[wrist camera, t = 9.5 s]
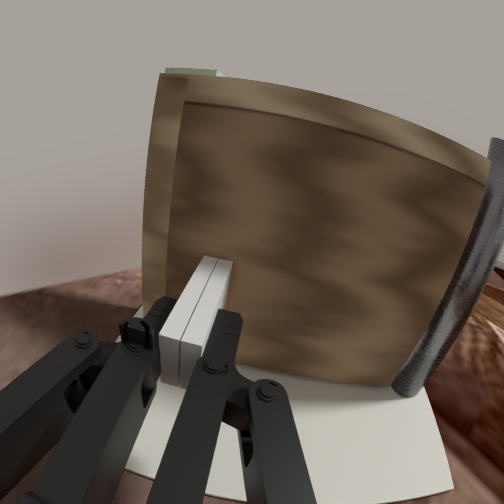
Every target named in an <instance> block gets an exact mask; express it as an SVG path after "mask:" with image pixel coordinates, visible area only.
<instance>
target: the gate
mask: <svg viewBox="0 0 504 504" xmlns="http://www.w3.org/2000/svg"><path fill="white" fill-rule="evenodd" d="M490 165H491V160H489V159H487V158H485V157H484V156H482V155H480V154H478V153H476V152H474V151H473V150H470V149H469V148H467V147H465V146H463V145H461V144H459V143H457V142H455V141H453V140H451V139H448V138H446V137H444V136H442V135H440V134H438V133H435V132H433V131H431V130H429V129H426V128H424V127H421V126H419V125H417V124H414V123H412V122H409V121H406V120H404V119H401V118H399V117H396V116H393V115H391V114H388V113H385V112H382V111H379V110H376V109H373V108H370V107H367V106H364V105H361V104H357V103H354V102H351V101H347V100H343V99H340V98H336V97H332V96H329V95H325V94H320V93H317V92H312V91H308V90H303V89H299V88H293V87H288V86H283V85H278V84H272V83H267V82H260V81H253V80H246V79H239V78H230V77H221V76H209V75H195V74H171V73H160V75H159V80H158V86H157V92H156V97H155V104H154V110H153V117H152V124H151V131H150V139H149V148H148V157H147V167H146V179H145V191H144V209H143V232H142V300H143V319H144V317H145V316H146V314H147V313H148V311H149V310H150V309H151V307H152V305H153V304H154V302H155V301H156V300H158V299H159V298H161V297H163V296H167V297H170V298H174V299H179V298H180V296H181V294H182V292H183V291H184V289H185V287H186V286H187V284H188V282H189V280H190V279H191V277H192V275H193V274H194V272H195V270H196V269H197V267H198V265H199V263H200V262H201V260H202V258H203V257H204V255H205V256H209V257H214V258H218V260H219V259H223V260H228V261H232V262H233V265H232V271H231V276H230V282H229V288H228V294H227V300H226V305H225V308H224V310H228V311H232V312H237V313H240V314H241V317H242V319H243V325H242V330H241V334H240V339H239V344H238V348H237V353H236V358H235V363H239V364H243V365H247V366H252V367H256V368H261V369H266V370H271V371H276V372H281V373H287V374H292V375H298V376H304V377H310V378H316V379H323V380H330V381H337V382H345V383H353V384H363V385H373V386H384V387H389V386H390V384H391V383H392V382H393V380H394V379H395V377H396V376H397V374H398V373H399V372H400V370H401V369H402V367H403V366H404V364H405V362H406V361H407V359H408V358H409V356H410V355H411V353H412V352H413V350H414V348H415V347H416V345H417V343H418V342H419V340H420V338H421V337H422V335H423V333H424V331H425V330H426V328H427V326H428V324H429V323H430V321H431V319H432V317H433V315H434V313H435V312H436V310H437V308H438V306H439V304H440V302H441V300H442V298H443V296H444V294H445V292H446V290H447V288H448V286H449V283H450V281H451V279H452V277H453V275H454V272H455V270H456V268H457V266H458V263H459V261H460V258H461V256H462V254H463V251H464V249H465V246H466V243H467V241H468V238H469V236H470V233H471V230H472V227H473V224H474V221H475V218H476V215H477V212H478V209H479V206H480V203H481V200H482V196H483V193H484V189H485V185H486V182H487V178H488V174H489V170H490Z"/></svg>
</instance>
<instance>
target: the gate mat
mask: <svg viewBox="0 0 504 504" xmlns="http://www.w3.org/2000/svg"><path fill="white" fill-rule="evenodd" d="M134 317H138V318H143V305H142V306H141V307H140V309H139V310H138V311H137V313H136V314H135V315H134ZM120 341H121V336H119V337H118V338H117V340H116V341H115V342H120ZM235 366H236V369H237V370H238V372H239V373H240V374H241V375H242V376H244V377H246V378H247V379H249V380H251V381H254V382H255V381H257V380H260V379H271V380H274V381H276V382H279V383H280V384H281V385H282V386H283V387H284V388H285V390H286V392H287V395H288V398H289V402H290V406H291V409H292V413H293V417H294V421H295V424H296V428H297V432H298V435H299V439H300V443H301V446H302V450H303V454H304V457H305V461H306V465H307V468H308V472H309V476H310V479H311V483H312V487H313V490H314V494H315V498H316V501H317V504H387V503H394V502H401V501H406V500H412V499H417V498H422V497H426V496H431V495H435V494H439V493H443V492H447V491H450V490H452V489H454V486H453V482H452V477H451V473H450V469H449V465H448V461H447V457H446V454H445V450H444V447H443V443H442V440H441V436H440V433H439V430H438V427H437V423H436V420H435V417H434V414H433V411H432V408H431V405H430V402H429V399H428V397H427V394H426V391H425V388H424V386H423V388H422V389H421V390H420V391H419V393H418V394H417V395H416V396H415V397H412V398H405V397H402V396H400V395H399V394H397V393H396V392H395V391H394V390H393V389H392V387H391V384H390V386H389V387H384V386H373V385H363V384H353V383H345V382H337V381H330V380H323V379H316V378H310V377H304V376H298V375H292V374H287V373H281V372H276V371H271V370H266V369H261V368H256V367H252V366H247V365H243V364H239V363H235ZM185 392H186V389H183V388H180V384H179V387H176V386H172V385H169V384H166V383H162V382H161V380H160V376H159V378H158V381H157V390H156V394H155V396H154V399H153V401H152V403H151V406H150V408H149V410H148V413H147V415H146V417H145V420H144V422H143V425H142V427H141V429H140V432H139V434H138V437H137V439H136V442H135V444H134V446H133V449H132V451H131V454H130V456H129V459H128V461H127V464H126V466H125V469H127V470H129V471H132V472H134V473H137V474H139V475H142V476H145V477H147V478H150V479H153V480H154V479H155V476H156V473H157V470H158V467H159V465H160V462H161V459H162V456H163V453H164V450H165V447H166V445H167V442H168V439H169V436H170V433H171V431H172V428H173V425H174V422H175V419H176V417H177V414H178V411H179V408H180V405H181V403H182V400H183V397H184V394H185ZM205 494H206V495H210V496H215V497H219V498H224V499H230V500H235V501H241V502H247V500H246V493H245V486H244V479H243V471H242V464H241V456H240V449H239V441H238V433H237V429H235V428H233V427H231V426H229V425H228V424H226V423H224V422H221V427H220V431H219V435H218V440H217V444H216V448H215V452H214V457H213V461H212V465H211V470H210V474H209V478H208V482H207V487H206V491H205Z"/></svg>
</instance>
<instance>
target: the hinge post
mask: <svg viewBox="0 0 504 504" xmlns="http://www.w3.org/2000/svg"><path fill="white" fill-rule="evenodd" d="M487 159H489V160H491V165H490V170H489V174H488V178H487V182H486V185H485V189H484V193H483V196H482V200H481V203H480V206H479V209H478V212H477V215H476V218H475V221H474V224H473V227H472V230H471V233H470V236H469V238H468V241H467V243H466V246H465V249H464V251H463V254H462V256H461V258H460V261H459V263H458V266H457V268H456V270H455V272H454V275H453V277H452V279H451V281H450V283H449V286H448V288H447V290H446V292H445V294H444V296H443V298H442V300H441V302H440V304H439V306H438V308H437V310H436V312H435V313H434V315H433V317H432V319H431V321H430V323H429V324H428V326H427V328H426V330H425V331H424V333H423V335H422V337H421V338H420V340H419V342H418V343H417V345H416V347H415V348H414V350H413V352H412V353H411V355H410V356H409V358H408V359H407V361H406V362H405V364H404V366H403V367H402V369H401V370H400V372H399V373H398V374H397V376H396V377H395V379H394V380H393V382H392V383H391V387H392V389H393V390H394V391H395V392H396V393H397V394H399V395H400V396H402V397H405V398H412V397H415V396H416V395H417V394H418V393H419V391H420V390H421V389H422V388H423V386H424V385H425V384H426V382H427V381H428V380H429V378H430V377H431V376H432V374H433V373H434V372H435V370H436V369H437V367H438V366H439V364H440V363H441V362H442V360H443V359H444V357H445V356H446V354H447V353H448V351H449V350H450V348H451V347H452V345H453V343H454V342H455V340H456V339H457V337H458V335H459V334H460V332H461V330H462V329H463V327H464V325H465V324H466V322H467V320H468V318H469V317H470V315H471V313H472V311H473V309H474V307H475V306H476V304H477V302H478V300H479V298H480V296H481V294H482V292H483V290H484V288H485V286H486V284H487V282H488V279H489V277H490V275H491V273H492V271H493V268H494V266H495V264H496V261H497V259H498V256H499V254H500V252H501V249H502V247H503V244H504V140H502V139H499V138H491V141H490V146H489V151H488V156H487Z"/></svg>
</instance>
